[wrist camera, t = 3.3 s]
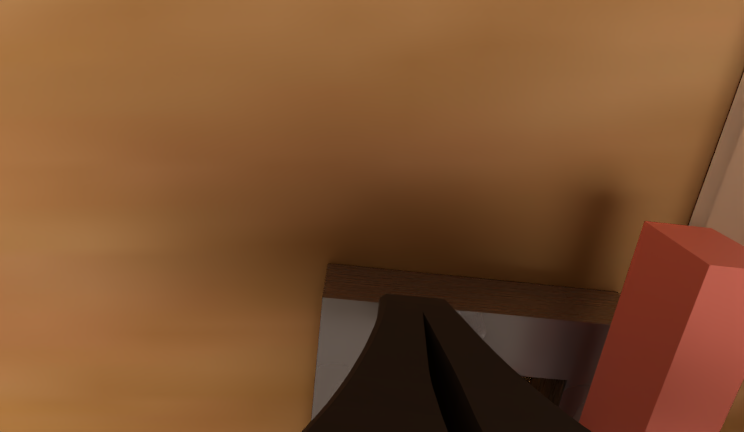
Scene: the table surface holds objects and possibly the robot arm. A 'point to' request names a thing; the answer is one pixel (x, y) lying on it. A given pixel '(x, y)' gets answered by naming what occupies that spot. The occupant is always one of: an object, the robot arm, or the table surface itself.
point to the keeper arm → (673, 336)
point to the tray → (725, 179)
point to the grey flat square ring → (474, 326)
